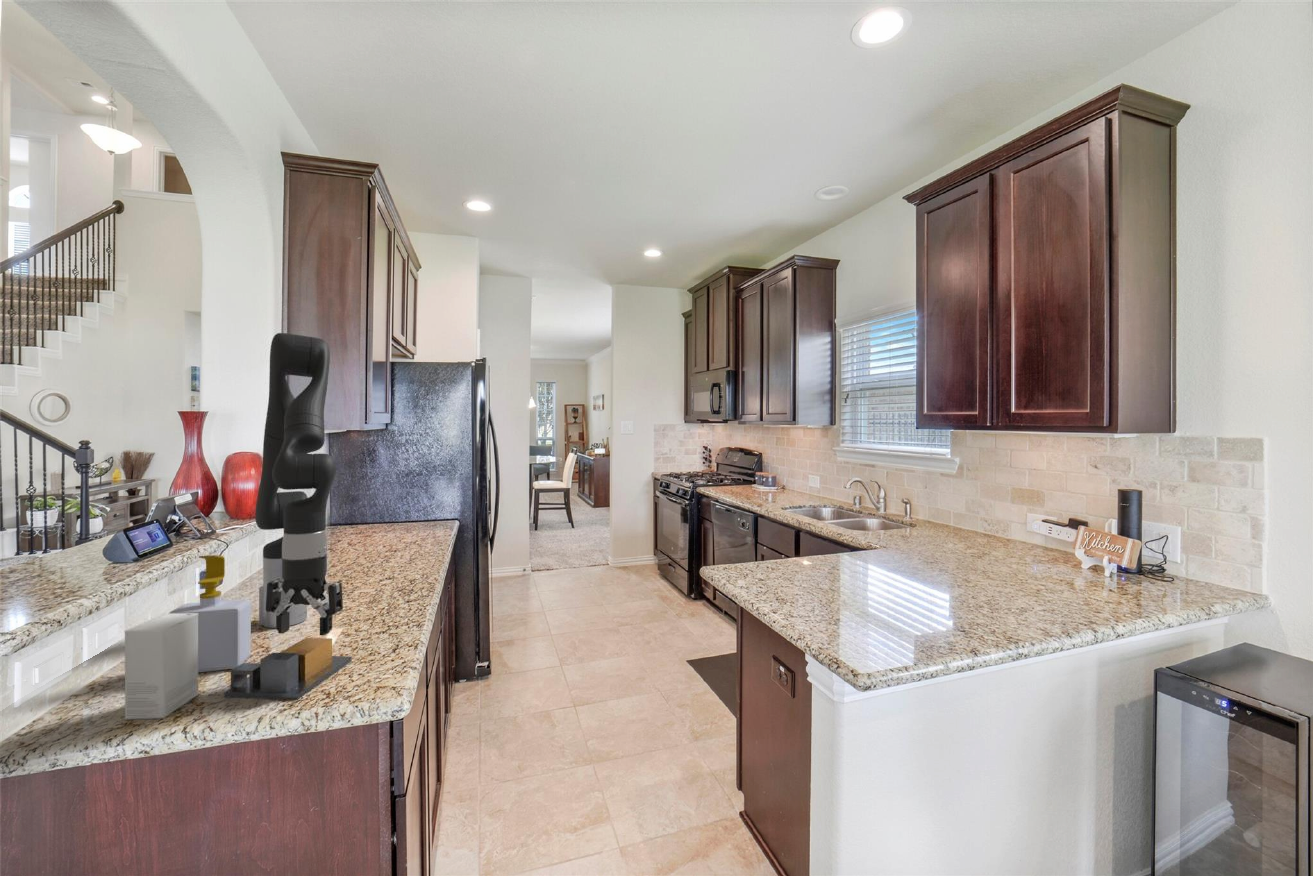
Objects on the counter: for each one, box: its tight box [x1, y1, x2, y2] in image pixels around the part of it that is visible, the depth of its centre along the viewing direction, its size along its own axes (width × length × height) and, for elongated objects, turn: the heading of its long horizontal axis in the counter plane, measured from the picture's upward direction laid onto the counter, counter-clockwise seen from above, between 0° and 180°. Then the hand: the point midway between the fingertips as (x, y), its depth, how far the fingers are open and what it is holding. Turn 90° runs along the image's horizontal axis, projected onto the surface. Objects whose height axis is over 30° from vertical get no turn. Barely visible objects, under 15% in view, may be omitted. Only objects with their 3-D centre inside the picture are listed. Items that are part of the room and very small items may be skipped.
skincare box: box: [124, 613, 199, 720], centre depth 94 cm, size 8×7×16 cm
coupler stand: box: [223, 652, 352, 700], centre depth 105 cm, size 14×16×7 cm
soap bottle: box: [167, 554, 252, 673], centre depth 110 cm, size 12×7×23 cm, turn 108°
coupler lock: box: [279, 637, 333, 681], centre depth 106 cm, size 6×8×5 cm
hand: (304, 633), depth 106 cm, fingers open, 8 cm apart
